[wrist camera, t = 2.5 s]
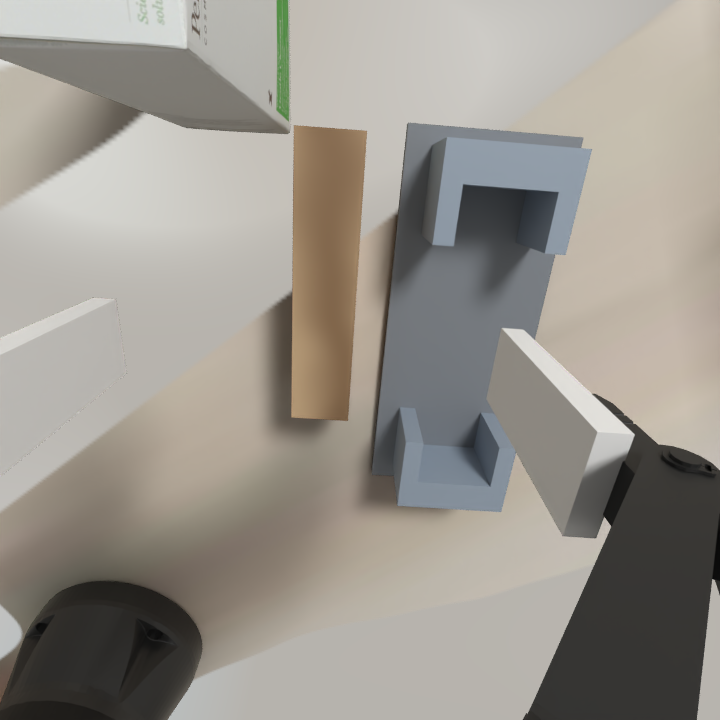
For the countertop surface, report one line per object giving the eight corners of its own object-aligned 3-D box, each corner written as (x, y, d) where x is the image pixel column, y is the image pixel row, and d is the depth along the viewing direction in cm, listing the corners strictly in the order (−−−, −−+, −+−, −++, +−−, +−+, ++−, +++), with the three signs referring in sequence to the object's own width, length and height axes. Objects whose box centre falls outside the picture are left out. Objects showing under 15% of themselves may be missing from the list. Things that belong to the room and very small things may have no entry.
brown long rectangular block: (301, 382, 31) (291, 417, 27) (306, 135, 25) (293, 125, 21) (349, 385, 31) (347, 420, 27) (365, 140, 25) (367, 130, 21)
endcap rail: (371, 469, 34) (373, 516, 29) (407, 124, 25) (418, 110, 20) (497, 477, 34) (519, 524, 29) (578, 138, 25) (628, 128, 20)
